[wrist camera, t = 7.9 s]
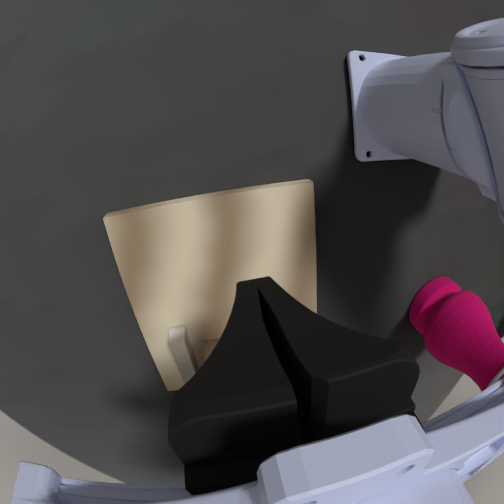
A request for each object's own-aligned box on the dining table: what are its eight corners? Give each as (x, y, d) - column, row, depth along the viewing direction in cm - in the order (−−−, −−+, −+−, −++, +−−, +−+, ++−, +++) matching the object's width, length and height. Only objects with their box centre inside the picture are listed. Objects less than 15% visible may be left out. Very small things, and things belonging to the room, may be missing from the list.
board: (308, 178, 21) (324, 189, 18) (312, 358, 28) (322, 380, 26) (107, 213, 20) (93, 228, 17) (168, 383, 27) (167, 407, 24)
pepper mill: (406, 340, 30) (504, 481, 12) (401, 292, 27) (533, 455, 9) (455, 309, 30) (560, 427, 12) (456, 259, 26) (593, 385, 8)
